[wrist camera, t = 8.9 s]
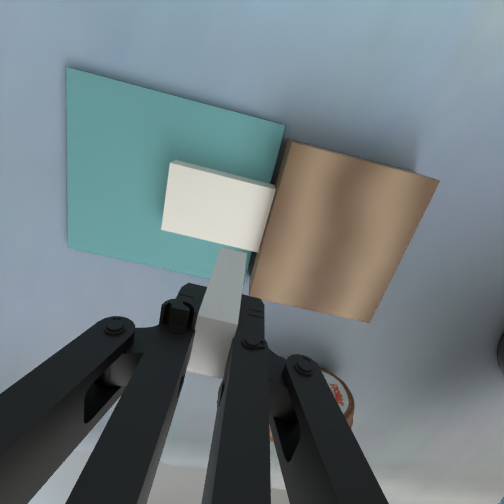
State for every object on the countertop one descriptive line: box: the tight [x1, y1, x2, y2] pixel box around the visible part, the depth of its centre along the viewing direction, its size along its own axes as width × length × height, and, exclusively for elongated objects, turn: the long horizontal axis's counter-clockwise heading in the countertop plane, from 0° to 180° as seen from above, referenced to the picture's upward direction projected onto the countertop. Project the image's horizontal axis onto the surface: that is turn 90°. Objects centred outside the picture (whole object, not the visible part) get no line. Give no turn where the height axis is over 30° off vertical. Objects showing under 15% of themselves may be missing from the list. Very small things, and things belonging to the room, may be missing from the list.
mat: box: [66, 67, 286, 284], centre depth 28 cm, size 18×16×1 cm
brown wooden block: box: [249, 139, 440, 323], centre depth 28 cm, size 12×14×4 cm
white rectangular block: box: [161, 160, 276, 252], centre depth 27 cm, size 9×6×2 cm, turn 76°
